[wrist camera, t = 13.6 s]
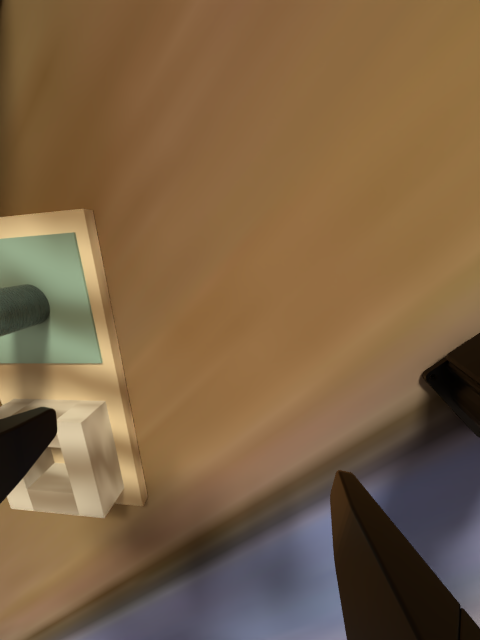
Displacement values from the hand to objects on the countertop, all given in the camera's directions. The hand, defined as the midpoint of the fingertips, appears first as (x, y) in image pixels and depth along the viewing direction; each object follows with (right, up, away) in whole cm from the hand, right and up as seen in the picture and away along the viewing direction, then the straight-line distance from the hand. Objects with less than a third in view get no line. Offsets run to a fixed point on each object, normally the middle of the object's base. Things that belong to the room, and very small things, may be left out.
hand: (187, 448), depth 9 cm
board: (-14, -1, +16) cm, 21 cm away
